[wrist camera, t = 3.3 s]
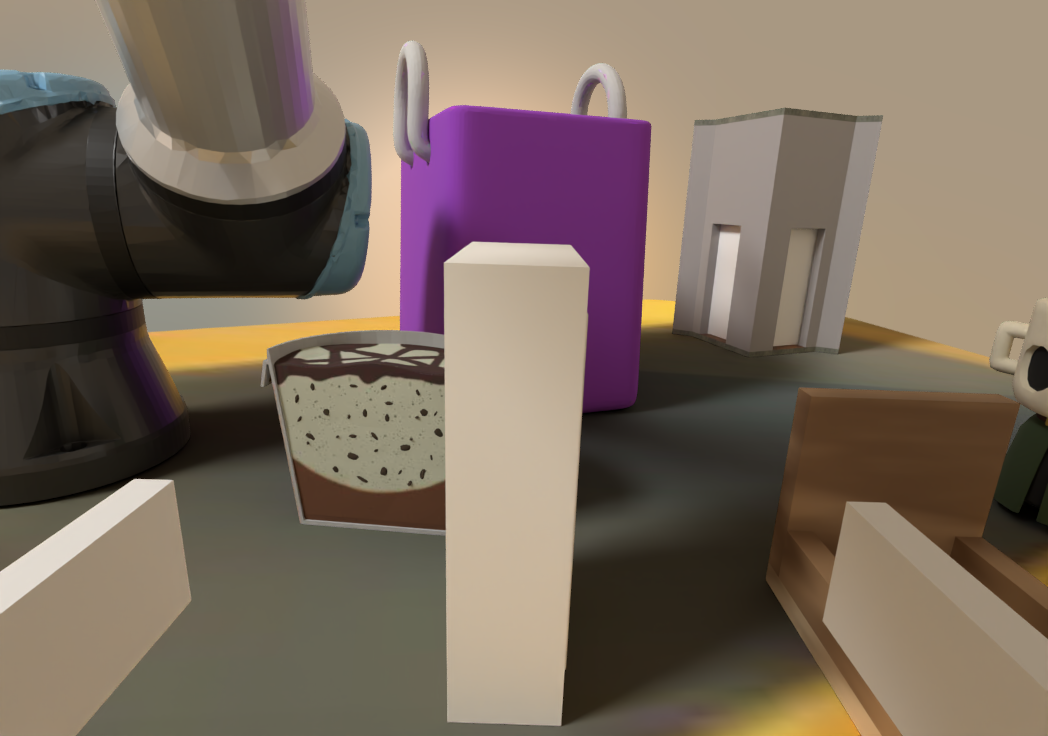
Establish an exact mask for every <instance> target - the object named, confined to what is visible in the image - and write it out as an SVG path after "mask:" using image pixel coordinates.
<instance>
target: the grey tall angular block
mask: <svg viewBox="0 0 1048 736" xmlns="http://www.w3.org/2000/svg"><path fill="white" fill-rule="evenodd" d="M882 119H883V116H882V115H881V116H852V115H843V114H834V113H826V112H816V111H808V110H799V109H791V108H781V109H775V110H769V111H764V112H758V113H752V114H746V115H741V116H735V117H729V118H723V119H718V120H695V124H694V134H693V144H692V153H691V162H690V171H689V181H688V190H687V200H686V210H685V219H684V229H683V238H682V247H681V256H680V266H679V275H678V285H677V294H676V304H675V313H674V323H673V332H672V334H679V335H687V336H693V337H695V338H698V339H701V340H704V341H706V342H709V343H712V344H714V345H717V346H720V347H722V348H725V349H728V350H730V351H733V352H736V353H738V354H741V355H744V356H746V357H759V356H770V355H781V354H792V353H803V352H823V353H831V354H838V351H839V346H840V340H841V335H842V330H843V325H844V319H845V313H846V308H847V303H848V298H849V292H850V287H851V282H852V277H853V272H854V266H855V261H856V255H857V251H858V246H859V240H860V235H861V230H862V224H863V219H864V214H865V209H866V203H867V198H868V193H869V187H870V182H871V177H872V171H873V167H874V161H875V156H876V151H877V145H878V140H879V135H880V130H881V124H882Z"/></svg>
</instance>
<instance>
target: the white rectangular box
mask: <svg viewBox="0 0 1048 736" xmlns="http://www.w3.org/2000/svg"><path fill="white" fill-rule="evenodd" d="M589 272H590V267H589V266H588V265H587V264H586V262H585V261H584V260H583V259H582V258H581V256H580V255H579V254H578V253H577V252H576V251H575V249H574V248H573V247H572V246H571V245H559V244H529V243H498V242H471V243H470V244H469V245H467V246H466V247H464V248H463V249H462V250H460V251H459V252H458V253H456V254H455V255H454V256H452V257H451V258H450V259H448V260H447V261H446V262H444V355H445V485H446V615H447V722H460V723H488V724H517V725H545V726H561V719H562V703H563V687H564V671H565V669H566V660H567V644H568V629H569V613H570V597H571V581H572V565H573V550H574V534H575V518H576V502H577V487H578V471H579V455H580V439H581V423H582V408H583V392H584V376H585V360H586V344H587V329H588V313H587V304H588V288H589Z"/></svg>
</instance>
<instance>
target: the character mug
mask: <svg viewBox="0 0 1048 736" xmlns="http://www.w3.org/2000/svg"><path fill="white" fill-rule="evenodd" d="M1014 338H1021V339H1025V340H1024V343H1023V346H1022V350H1021V353H1020V356H1019V360H1014V359H1010V358H1009V354H1010V350H1011V347H1012V343H1013V339H1014ZM989 360H990V367H991V368H993V369H995V370H997V371H999V372H1003V373H1007V374H1011V375H1014V378H1013V382H1012V387H1013V391H1014V395H1015V398H1016V399H1017V401H1018V402H1019V403H1020V404H1022V405H1023V406H1025V407H1027V408H1028V409H1030V410H1032V411H1034V412H1036V414H1034V415H1033V416H1032V417H1030V418H1029V419H1028V420H1027V421H1026V422H1025V423H1024V424H1022V425H1021V426H1020V428H1019V430H1018V432H1017V434H1016V436H1015V438H1014V440H1013V442H1012V444H1011V446H1010V448H1009V450H1008V452H1007V454H1006V456H1005V459H1004V462H1003V465H1002V469H1001V472H1000V476H999V479H998V483H997V486H996V490H995V493H994V498H995V500H996V501H998V502H999V503H1001V504H1002V505H1004V506H1005V507H1007V508H1008V509H1010V510H1011V511H1014V512H1016V513H1019V511H1020V509H1021V506H1022V504H1023V505H1025V506H1031V505H1033V506H1035V507H1037V508H1039V509H1040V510H1039V513H1038V516H1037V520H1036V521H1038V522H1040V523H1042V524H1045V525H1048V298H1042V299H1039V300H1038V301H1037V303H1036V305H1035V307H1034V309H1033V313H1032V316H1031V320H1030V324H1026V323H1019V322H1014V321H1007V322H1002V324H1001V325H1000V327H999V328H998V330H997V333H996V337H995V340H994V344H993V348H992V352H991V355H990V359H989Z"/></svg>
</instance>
